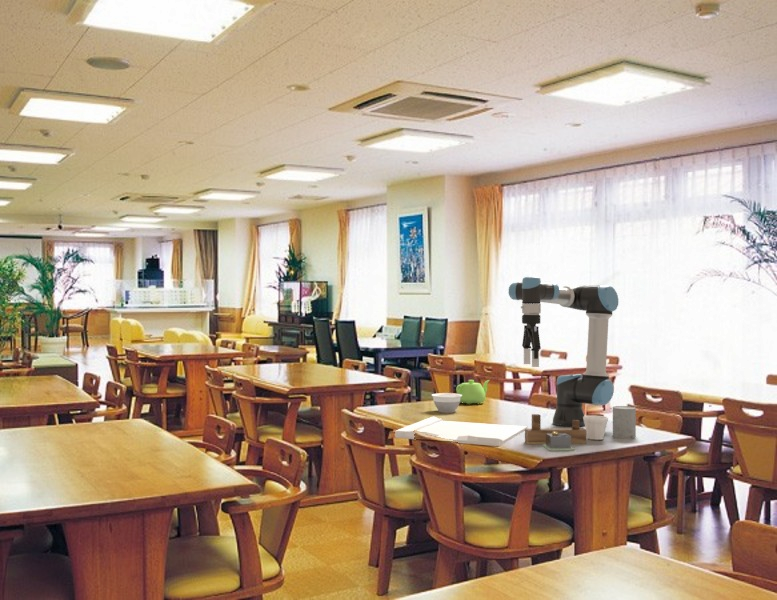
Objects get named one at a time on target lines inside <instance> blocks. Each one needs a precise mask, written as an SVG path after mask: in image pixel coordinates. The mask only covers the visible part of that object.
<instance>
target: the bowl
mask: <svg viewBox="0 0 777 600" xmlns="http://www.w3.org/2000/svg"><path fill="white" fill-rule="evenodd" d="M461 396H462V395H461V394H457V393H453V392H449V393H448V392H441V393H439V392H438V393H437V392H436V393H433V394H431V397H432V398H433V403H434V406H435V408H436V409H437V411H438V412H439V413H446V414H447V413H448V414H449V413H456V410H457V409H458V407H459V405H460V403H461V402H460V397H461Z"/></svg>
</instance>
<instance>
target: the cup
mask: <svg viewBox="0 0 777 600" xmlns="http://www.w3.org/2000/svg"><path fill="white" fill-rule="evenodd" d="M583 420H584V424H585V426H584V427H585V428H584V429H586V438H587V440H590V441H602V440H604V437H605V433H606V429H607V426H608V425H607V424H608V422H609V421H608V420H609V417H608V416H605V415H585V416H584V417H583Z"/></svg>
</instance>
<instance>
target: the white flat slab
mask: <svg viewBox="0 0 777 600" xmlns="http://www.w3.org/2000/svg"><path fill="white" fill-rule="evenodd" d="M525 429H528V426H526V425H525V426H524V425H512V424H511V425H510V424H496V423H483V422H482V423H481V422H467V421H455V420H454V421H453V420H443V418H440V417H439V418H438V417H436V416H434V415H433V416H431V417H428V418H425V419H422V420H419V421H417V422H415V423H411V424H409V425H406V426H404V427H401V428H399V429H396V430H395V433H394V437H395V438H396V439H405V440H406V439H408V440H415V439H414V437H415V436H414V434H415V433H416V432H413V431H414V430H417V431H420V433H425V434H428V435H432V436H436V437H441V438H445V439H449V440H453V441H456V442H458V443H457V444H467V445H468V444H469V445H480V446H482V445H483V446H493V447H501V446H502V445H503V444H505V443H507V442H508V441H510V440H512V439H514V438H515V437H517V436H518V435H520V434H522V433H523V432H524V433H525Z"/></svg>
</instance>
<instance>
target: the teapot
mask: <svg viewBox="0 0 777 600" xmlns="http://www.w3.org/2000/svg"><path fill="white" fill-rule="evenodd" d="M490 380H491V379H487V380H485V381H484V383H483V385H482V383H480V382H475V380H474V379H468V380H467V381H468V382H462V383H460V384H458V385H457V386H455V387H456V389H455V390H456V394H461V395H462V396H461V397H460V403H462V402H463V403H462V404H466V405H467V404H471V405H472V404H476V403H481V404H482V403H484V402H485V400H486V394H487V392H488V383H489V382H490Z"/></svg>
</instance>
